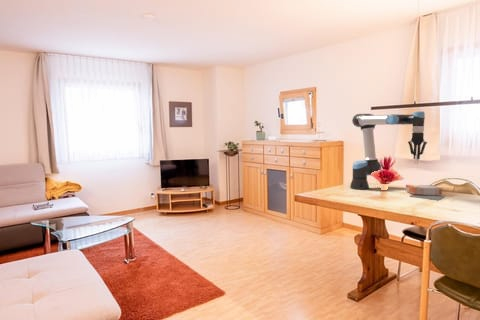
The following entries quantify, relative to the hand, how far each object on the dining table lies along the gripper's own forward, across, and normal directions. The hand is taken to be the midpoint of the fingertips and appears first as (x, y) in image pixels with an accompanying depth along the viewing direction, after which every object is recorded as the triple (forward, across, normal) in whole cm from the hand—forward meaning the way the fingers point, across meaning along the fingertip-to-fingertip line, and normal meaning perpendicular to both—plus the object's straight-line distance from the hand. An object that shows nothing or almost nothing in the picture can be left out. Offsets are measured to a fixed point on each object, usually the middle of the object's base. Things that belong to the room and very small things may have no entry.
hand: (416, 163), depth 239 cm
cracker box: (+21, -4, +2) cm, 21 cm away
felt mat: (+24, +9, 0) cm, 26 cm away
